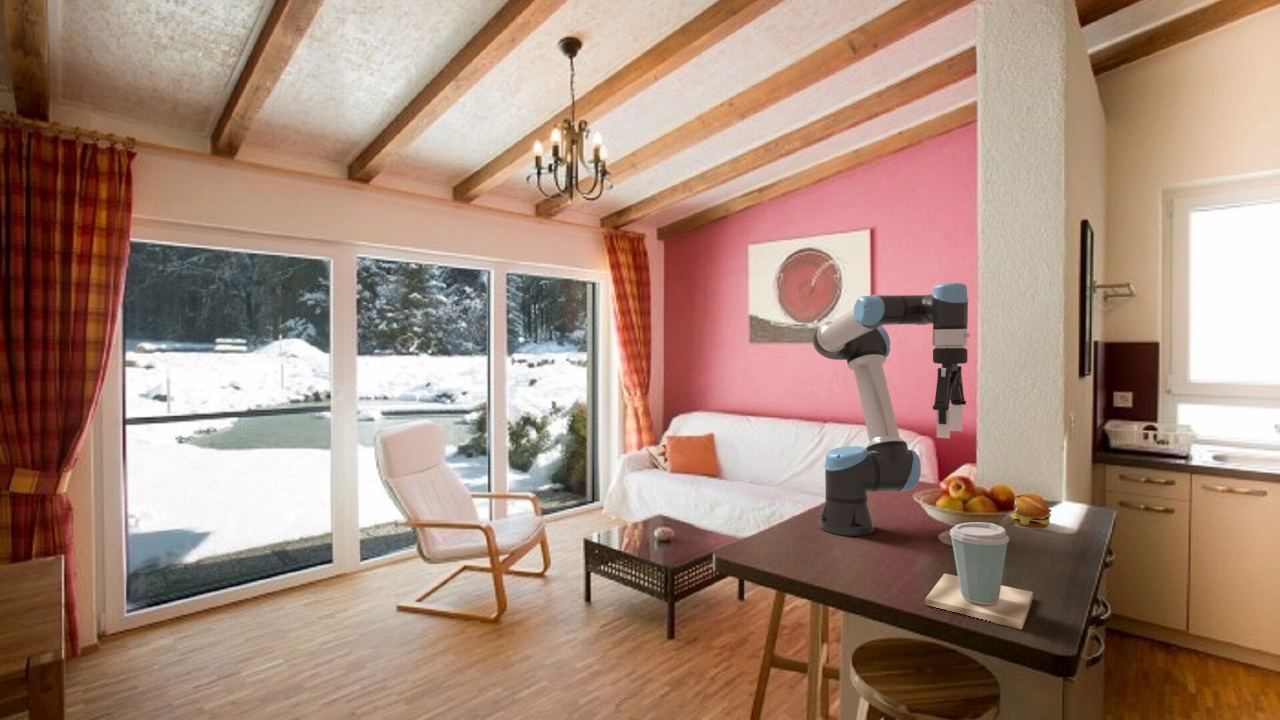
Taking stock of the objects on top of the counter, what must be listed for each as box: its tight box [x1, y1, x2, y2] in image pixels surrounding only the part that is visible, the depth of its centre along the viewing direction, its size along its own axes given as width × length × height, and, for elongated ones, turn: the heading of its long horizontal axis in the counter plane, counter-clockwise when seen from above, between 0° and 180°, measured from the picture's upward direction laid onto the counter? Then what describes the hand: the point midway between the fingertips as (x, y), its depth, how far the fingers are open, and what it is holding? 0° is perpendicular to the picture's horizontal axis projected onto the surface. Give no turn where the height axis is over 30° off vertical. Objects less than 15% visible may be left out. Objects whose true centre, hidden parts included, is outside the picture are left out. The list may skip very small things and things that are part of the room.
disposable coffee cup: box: [949, 521, 1010, 605], centre depth 124 cm, size 11×11×15 cm
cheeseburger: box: [1010, 493, 1052, 529], centre depth 178 cm, size 10×11×10 cm
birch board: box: [924, 573, 1034, 630], centre depth 126 cm, size 17×17×2 cm
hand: (949, 434), depth 148 cm, fingers open, 13 cm apart
